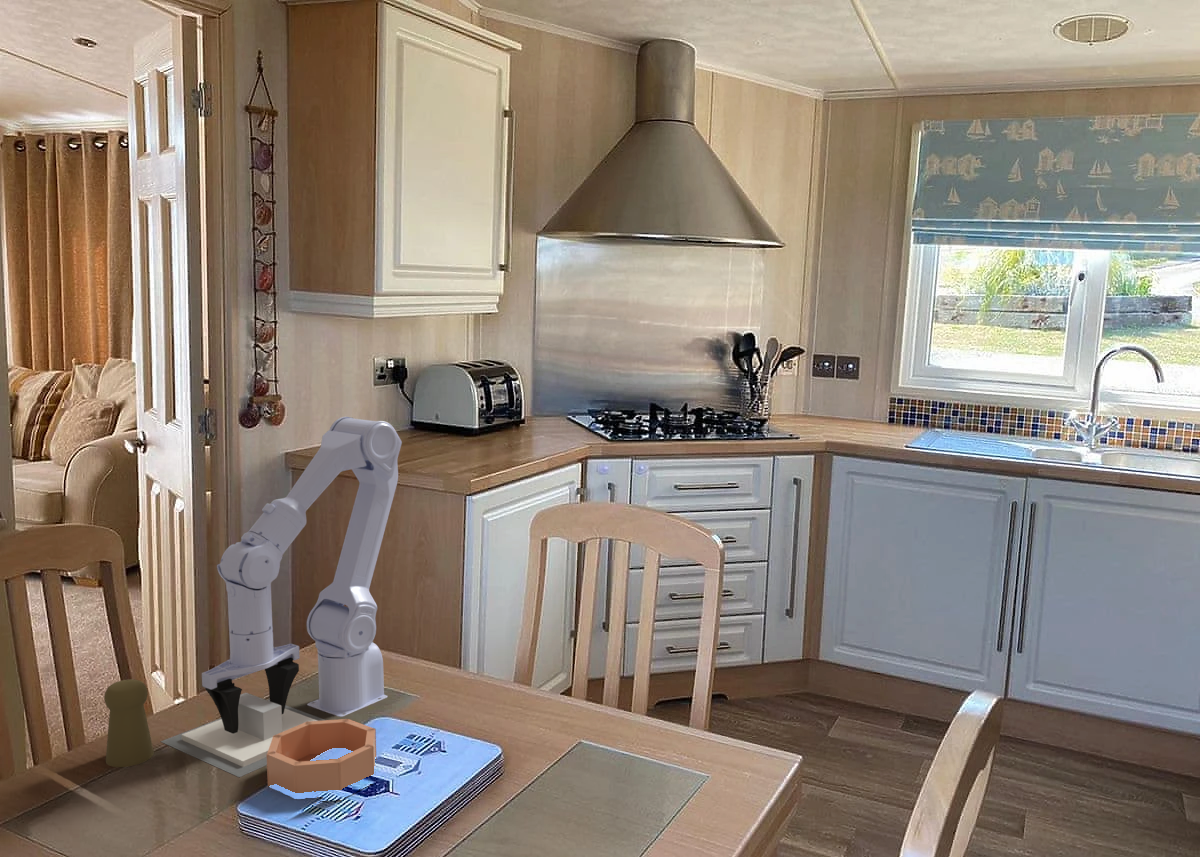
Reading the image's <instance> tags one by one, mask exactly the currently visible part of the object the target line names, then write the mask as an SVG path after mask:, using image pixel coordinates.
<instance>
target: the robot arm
mask: <svg viewBox="0 0 1200 857" xmlns="http://www.w3.org/2000/svg"><path fill="white" fill-rule="evenodd" d="M402 444H403V442H402V439H401V438H400V436H399V434H398V433H397V431H396V429H395V428H394V426H393V425H392V424H391V423H389V422H387V421H385V420H384V421H383V420H370V419H362V418H361V419H360V418H354V417H350V416H341V417H339V418H338V419H336V420H335V421H334V422H333V423H332V424H331V426H330V427H329V430H327V431H326V432H325V433H323V435H322V437H321V443H320V447H319V449H318V450H317V452H316V453H315V455H314V456H313V458H311V460H310V462H309V463H308V465H307V466H306V467H305V469H304V471H303V472H302V474H301V475H300V477H299V478H298V479H297V481H296V482H295V484H294V485H293V486H292V487H291V489H290V491H288V494H287V495H286V497H282V498H277V499H273V500H272V501H271V503H268V502H267V503H266V504H265V505H264V506H263V508H262V509H261V511H262V513H261V515H259V517H258V519H256V521H255V522H254V524H253V525H252V526H251V528H250V529H249V530H248V531H247V532H244V533H243V535H242V536H241V537H240V538H241V539H240V541H238V542H235V544H234V543H232V544H230V545H229V546H228V547H227V548H226V549H225V550H224V552H223V554H222V556H221V558H220V563H218V564H217V565H216V568H217V569H216V570H217V572H218V574H219V576H220V577H221V578H222V579H223V580H224V583H225V587H226V589H225V590H226V592H227V610H228V611H227V614H228V615H227V616H228V631H229V632H228V633H229V634H228V635H229V650H230V651H229V654H230V655H229V659H227V660H226V661H224V662H221V663H220V664H218V665H216V666H214V667H213V668H211V669H209V670H207V671H204V672H201V684H202V685H201V686H202V687H203V688H204V689H205V691H206V693H208V695H209V696H210V698H211V700H212V701H213V702H214V705H215V706H216V708H217V711H218V712H219V716H220V718H221V719H222V722H223V725H224V729H225V731H228V732H230V733H232V734H234V733H236V732H238V706H239V699H240V695H241V694H242V691H243V689H242V688H241V687H238V686H236V685H235V683H234V682H233V681H234V680H236V679H239V678H242V677H245V676H248V675H250V674H253V673H256V672H259V671H265V672H264V673H265V675H266V679H267V684H268V693H269V694H268V697H269V699H270V702H273V703H276V704H279V705H281V709H282V714H284V710H285V705H286V706H287V700H288V697H289V693H290V689H291V687H292V684H293V683H294V680H295V678H296V676H297V674H298V672H299V671H300V664H299V663H298V662H294V661H296V660H300V646H299V645H297V644H293V643H288V644H284V645H280V646H274V632H273V630H274V628H273V611H272V610H273V608H272V607H273V606H272V604H273V602H272V582H274V580H276V579H277V578H278V576H279V572H280V566H281V561H282V559H283V555H284V554H285V553H286V551H287V550H288V549H289V547H290V545H291V544H292V543H293V542H294V541H295V539H296V538H297V537H298V536H299V534H300V533H301V531H302V530H303V529H304V528H305V526H306V525H307V522H308V521H307V514H306V513H307V511H308V509H309V508H310V507H311V506H312V505H313V503H315V501H317V500H318V498H319V497H320V496H321V495H322V493H323V492H324V491H325V490H326V489H327V488H328V487H329V486H330V484H331V483H333V481H334V480H335V479H336V478H337V477H338V476H339V474H340V473H341V472H345V471H349V470H351V471H352V472H353V474H354V475H355V477H356V479H357V481H358V482H359V485H358V488H357V492H356V496H355V499H354V503H353V507H352V511H351V515H350V518H349V522H348V525H347V529H346V533H345V537H344V540H343V545H342V547H341V551H340V555H339V559H338V563H337V567H336V570H335V573H334V578H333V581H332V582H331V583H330V584H329V585H328V586H326V587H325V588H324V589H323V590H321V591H320V592H319V593H318V598H317V601H316V603H315V604H314V606H313V607H312V609H311V610H310V611H309V614H308V616H307V619H306V631H307V633H308V635H309V636H310V638H311V639H312V640H313V641H314V642H315V648H316V649H317V668H318V696H319V697H318V699H315V700H313V701H310V702H308V703H307V704H306V705H307V706H308V707H312V708H314V709H317V710H320V711H322V712H324V713H325V712H326V713H328V714H330V715H332V716H333V715H334V716H336V717H341V718H342V717H345V716H347V715H349V714H352V713H354V712H356V711H359V710H361V709H363V708H366V707H368V706H370V705H373V704H375V703H377V702H379V701H382V700H384V699H387V698H388V696H389V695H386V694H385V681H384V659H383V654H382V652H381V649H380V648H379V646H378V645H377V644H376V643H374V639H375V637H376V634H377V622H376V615H377V611H378V605H377V603H376V601H375V599H374V598H373V596H372V594H371V592H370V588H371V587H370V586H371V584H372V580H373V576H374V572H375V569H376V565H377V561H378V557H379V553H380V550H381V546H382V542H383V540H384V539H383V538H384V534H385V530H386V527H387V523H388V519H389V515H390V511H391V507H392V505H393V500H394V497H395V493H396V490H397V485H398V480H399V467H398V459H399V458H398V457H399V455H400V451H401V447H402ZM345 605H346V606H345Z"/></svg>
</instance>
